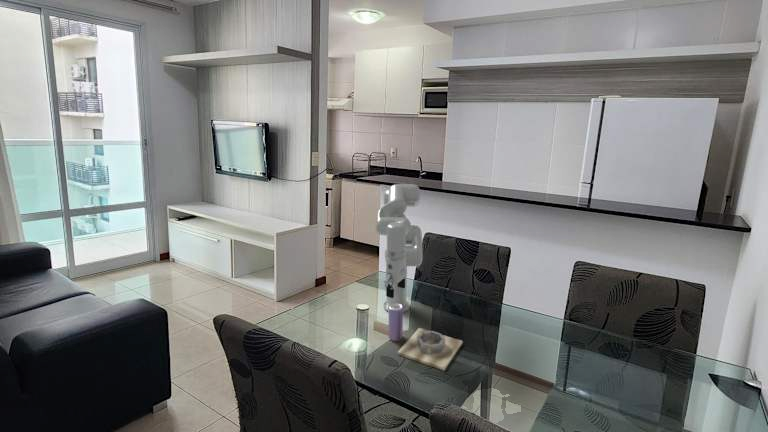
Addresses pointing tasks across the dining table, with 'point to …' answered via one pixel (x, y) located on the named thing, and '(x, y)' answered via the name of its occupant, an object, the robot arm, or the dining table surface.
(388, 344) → the dining table surface
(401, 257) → the robot arm
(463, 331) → the dining table surface
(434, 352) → the rosette socket
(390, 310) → the beverage can
